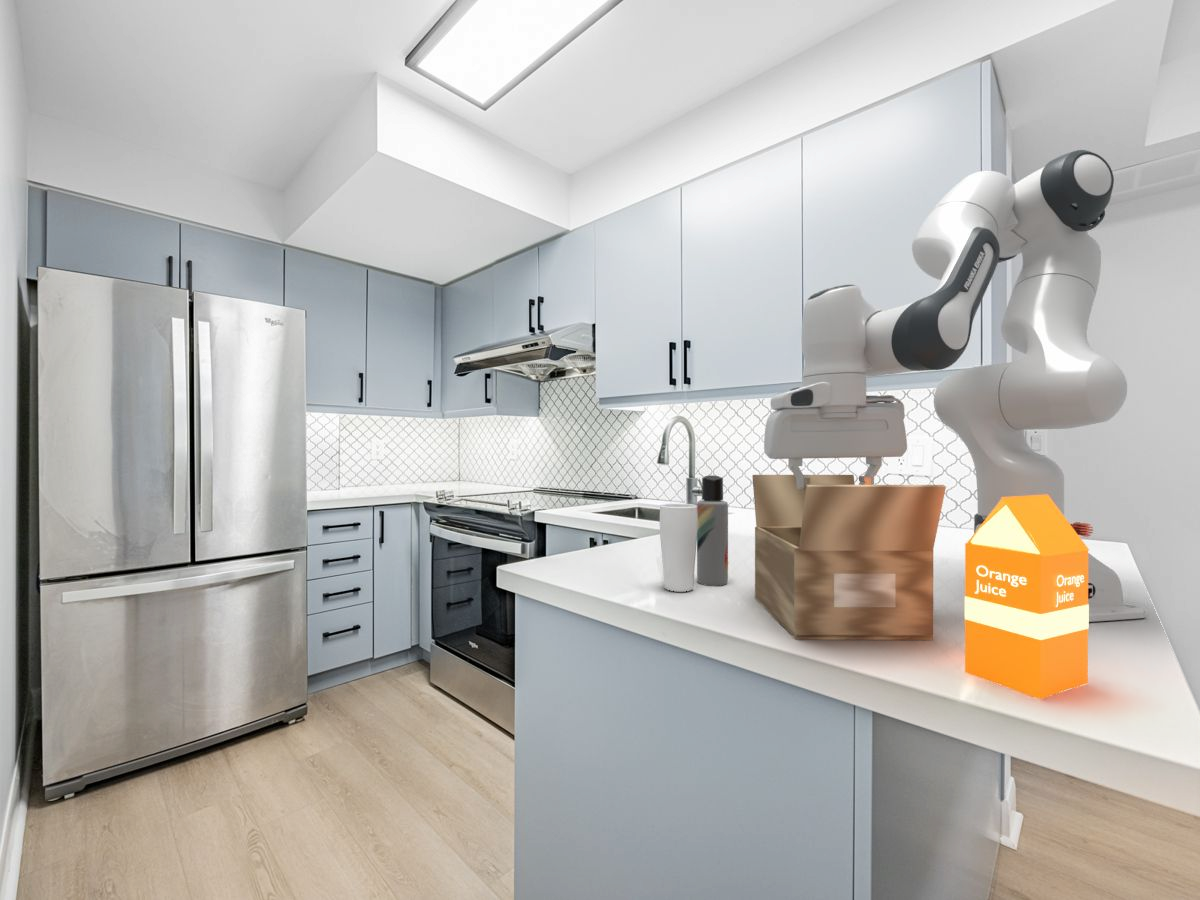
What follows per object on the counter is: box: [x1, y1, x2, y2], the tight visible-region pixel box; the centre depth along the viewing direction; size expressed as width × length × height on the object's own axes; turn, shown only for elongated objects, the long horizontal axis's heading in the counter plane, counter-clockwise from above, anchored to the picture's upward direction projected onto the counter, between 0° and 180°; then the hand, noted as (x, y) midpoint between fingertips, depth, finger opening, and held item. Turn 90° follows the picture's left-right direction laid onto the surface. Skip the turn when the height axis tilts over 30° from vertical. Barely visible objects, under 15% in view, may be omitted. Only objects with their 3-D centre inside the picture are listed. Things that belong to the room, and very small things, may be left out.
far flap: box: [751, 474, 856, 527], centre depth 95 cm, size 17×9×1 cm
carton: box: [754, 526, 934, 641], centre depth 83 cm, size 18×20×12 cm
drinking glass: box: [659, 503, 698, 593], centre depth 99 cm, size 7×7×15 cm
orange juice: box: [964, 495, 1090, 700], centre depth 61 cm, size 8×9×20 cm
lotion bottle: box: [696, 475, 729, 587], centre depth 104 cm, size 6×6×20 cm
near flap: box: [799, 484, 947, 552], centre depth 71 cm, size 17×9×1 cm
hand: (834, 488), depth 83 cm, fingers open, 8 cm apart
